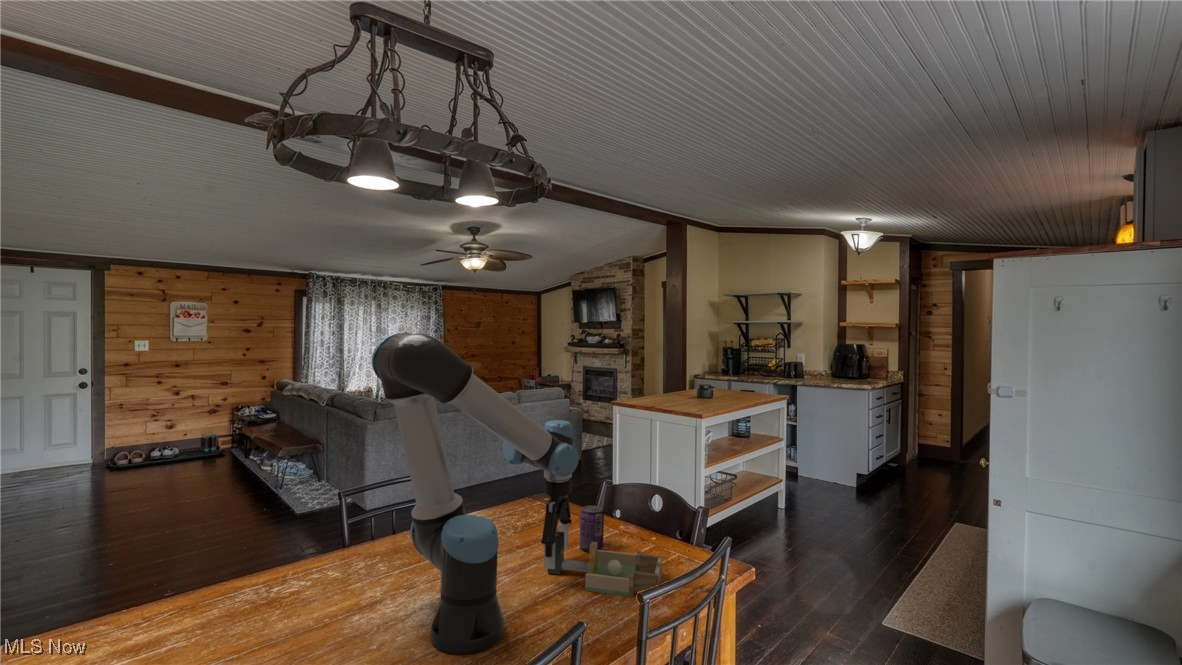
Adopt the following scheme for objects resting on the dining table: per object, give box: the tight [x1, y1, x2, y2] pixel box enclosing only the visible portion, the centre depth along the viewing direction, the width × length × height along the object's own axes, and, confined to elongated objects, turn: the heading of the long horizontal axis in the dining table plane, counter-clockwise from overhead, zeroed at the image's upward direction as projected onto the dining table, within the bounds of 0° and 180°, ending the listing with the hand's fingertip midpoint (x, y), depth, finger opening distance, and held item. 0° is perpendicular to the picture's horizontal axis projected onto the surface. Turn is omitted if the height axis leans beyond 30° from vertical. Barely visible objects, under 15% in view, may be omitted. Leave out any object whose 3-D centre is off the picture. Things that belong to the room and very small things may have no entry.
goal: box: [628, 550, 663, 598], centre depth 138 cm, size 16×7×5 cm, turn 168°
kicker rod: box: [547, 530, 598, 576], centre depth 142 cm, size 6×13×10 cm, turn 78°
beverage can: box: [579, 505, 605, 553], centre depth 160 cm, size 7×7×12 cm
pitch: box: [584, 549, 636, 597], centre depth 140 cm, size 16×11×4 cm
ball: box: [607, 560, 622, 576], centre depth 140 cm, size 4×4×4 cm
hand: (556, 557), depth 143 cm, fingers open, 13 cm apart
